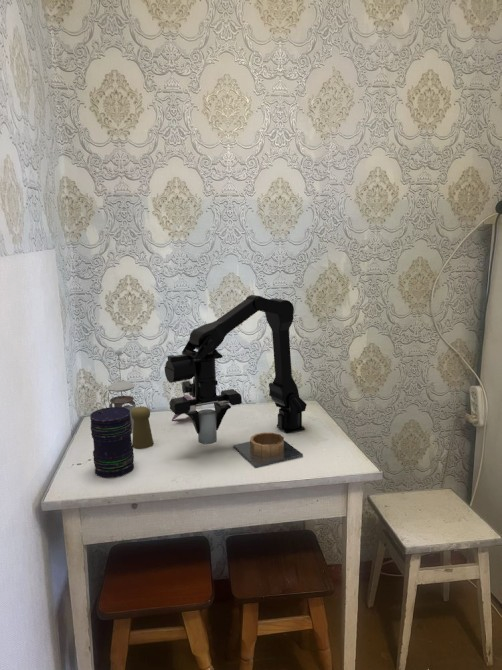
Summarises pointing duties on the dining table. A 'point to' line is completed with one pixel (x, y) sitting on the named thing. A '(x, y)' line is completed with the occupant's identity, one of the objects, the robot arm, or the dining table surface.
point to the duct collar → (267, 449)
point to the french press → (121, 400)
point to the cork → (141, 428)
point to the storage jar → (112, 442)
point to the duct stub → (207, 426)
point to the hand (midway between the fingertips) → (207, 431)
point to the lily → (185, 413)
